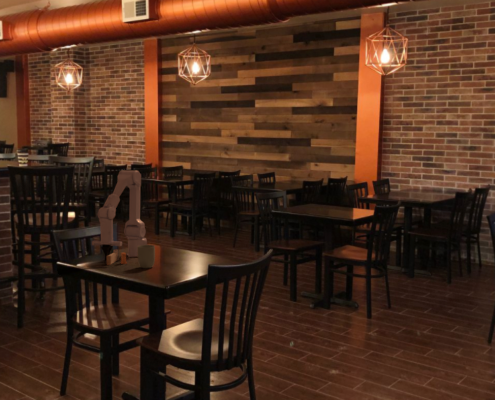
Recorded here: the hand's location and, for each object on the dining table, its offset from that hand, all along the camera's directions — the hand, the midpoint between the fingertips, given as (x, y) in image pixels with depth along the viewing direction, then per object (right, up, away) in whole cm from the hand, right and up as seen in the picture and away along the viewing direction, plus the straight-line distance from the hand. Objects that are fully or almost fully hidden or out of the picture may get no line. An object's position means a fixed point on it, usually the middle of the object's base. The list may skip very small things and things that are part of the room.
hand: (107, 260), depth 282 cm
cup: (+20, -2, -10) cm, 23 cm away
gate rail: (+2, -1, +2) cm, 3 cm away
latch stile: (+8, -1, 0) cm, 8 cm away
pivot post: (+2, -1, +9) cm, 10 cm away
